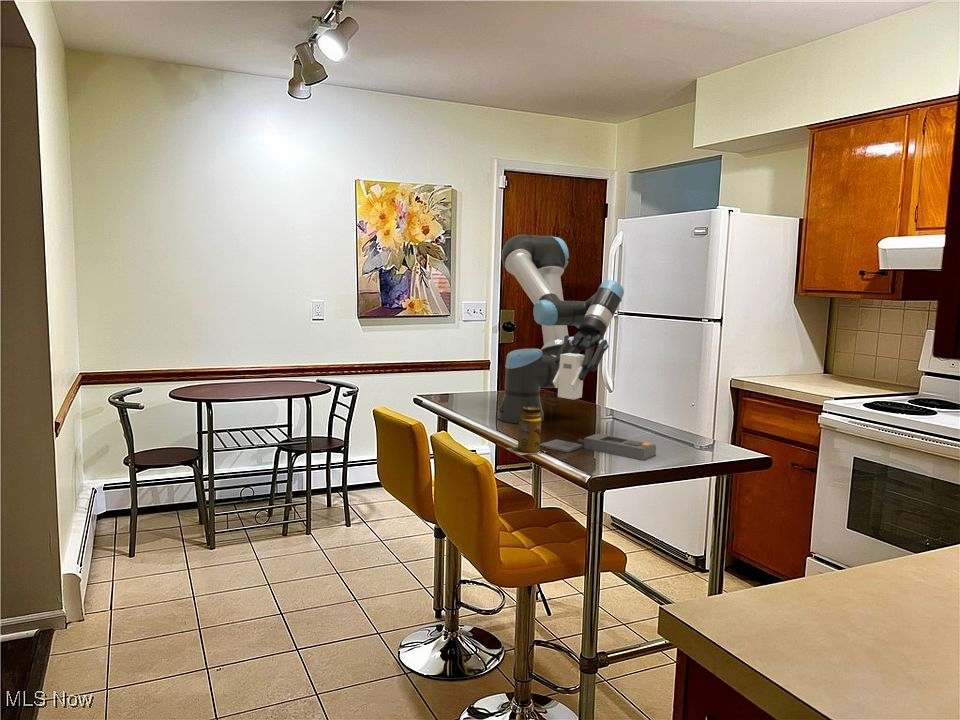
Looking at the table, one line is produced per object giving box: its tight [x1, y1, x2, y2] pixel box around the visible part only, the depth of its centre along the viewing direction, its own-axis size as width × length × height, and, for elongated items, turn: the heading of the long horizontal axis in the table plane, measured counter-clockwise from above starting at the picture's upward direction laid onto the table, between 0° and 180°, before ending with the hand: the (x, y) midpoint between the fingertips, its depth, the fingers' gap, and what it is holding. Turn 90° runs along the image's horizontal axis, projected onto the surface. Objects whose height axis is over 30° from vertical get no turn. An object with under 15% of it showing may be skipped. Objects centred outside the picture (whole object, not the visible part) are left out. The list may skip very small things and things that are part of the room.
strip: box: [576, 433, 657, 461], centre depth 201 cm, size 22×8×4 cm, turn 53°
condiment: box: [505, 406, 546, 456], centre depth 195 cm, size 7×8×12 cm
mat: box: [540, 438, 584, 453], centre depth 202 cm, size 9×9×1 cm
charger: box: [557, 353, 585, 401], centre depth 200 cm, size 5×5×12 cm
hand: (564, 386), depth 197 cm, fingers closed on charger, 5 cm apart
